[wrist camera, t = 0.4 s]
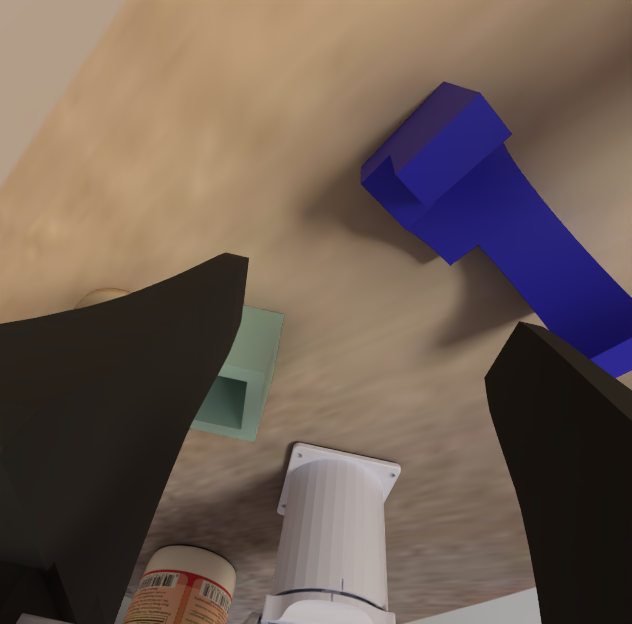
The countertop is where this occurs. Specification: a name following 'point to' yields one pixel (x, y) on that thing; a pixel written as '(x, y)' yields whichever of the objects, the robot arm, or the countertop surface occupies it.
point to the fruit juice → (183, 588)
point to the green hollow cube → (243, 378)
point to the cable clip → (497, 220)
